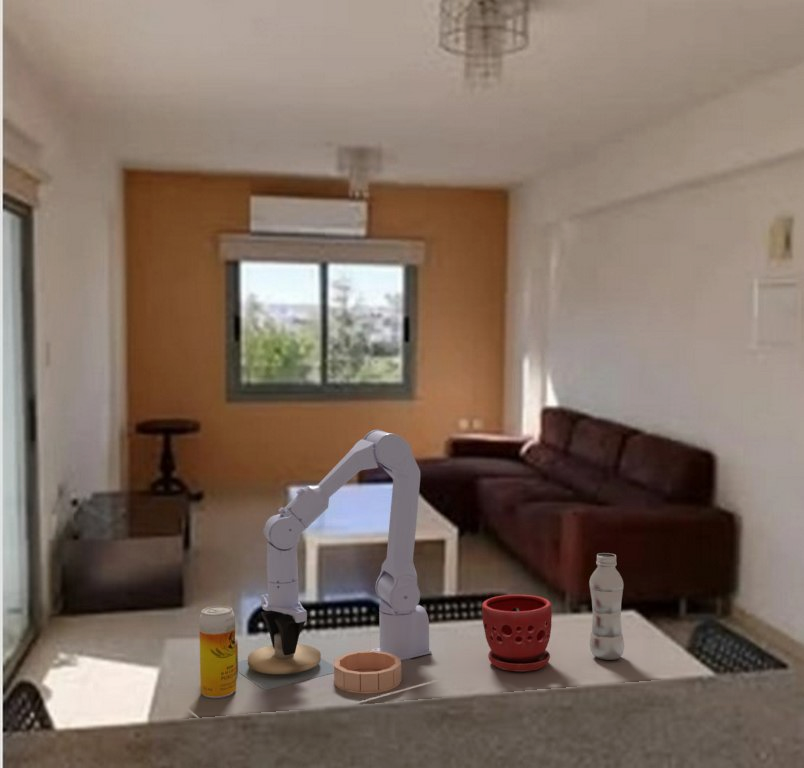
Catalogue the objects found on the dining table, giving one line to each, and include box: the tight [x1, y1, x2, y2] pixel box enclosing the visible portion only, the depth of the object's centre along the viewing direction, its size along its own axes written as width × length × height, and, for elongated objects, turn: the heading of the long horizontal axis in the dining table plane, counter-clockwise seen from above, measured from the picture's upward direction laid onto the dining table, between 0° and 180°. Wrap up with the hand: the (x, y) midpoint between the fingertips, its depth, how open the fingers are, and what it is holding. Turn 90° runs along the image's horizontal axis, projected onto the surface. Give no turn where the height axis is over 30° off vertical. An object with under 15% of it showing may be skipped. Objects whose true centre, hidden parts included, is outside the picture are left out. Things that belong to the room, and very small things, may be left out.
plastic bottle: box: [588, 552, 625, 661], centre depth 175 cm, size 6×7×20 cm
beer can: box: [198, 605, 237, 699], centre depth 159 cm, size 6×6×15 cm
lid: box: [247, 632, 322, 674], centre depth 171 cm, size 14×14×5 cm
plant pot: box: [481, 594, 553, 672], centre depth 172 cm, size 13×13×12 cm
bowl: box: [333, 650, 402, 694], centre depth 164 cm, size 12×12×4 cm
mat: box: [238, 658, 334, 691], centre depth 171 cm, size 16×16×1 cm
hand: (284, 650), depth 171 cm, fingers closed on lid, 4 cm apart
